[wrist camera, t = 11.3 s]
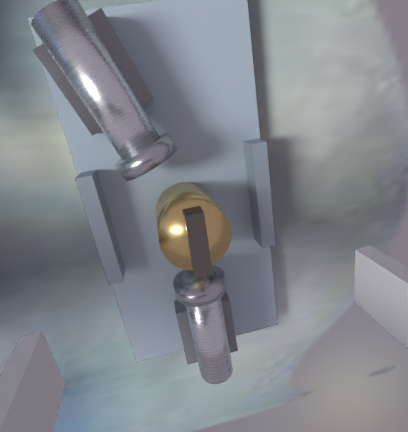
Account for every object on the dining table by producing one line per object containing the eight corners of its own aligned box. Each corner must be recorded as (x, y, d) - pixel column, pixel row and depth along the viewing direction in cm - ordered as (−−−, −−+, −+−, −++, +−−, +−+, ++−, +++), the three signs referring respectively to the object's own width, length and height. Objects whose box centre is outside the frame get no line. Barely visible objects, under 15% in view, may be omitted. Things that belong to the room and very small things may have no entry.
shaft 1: (123, 172, 25) (118, 190, 19) (37, 47, 21) (2, 27, 16) (177, 140, 24) (186, 149, 19) (100, 8, 21) (86, -25, 16)
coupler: (161, 242, 27) (167, 288, 20) (150, 187, 25) (152, 217, 18) (216, 231, 28) (240, 271, 21) (209, 177, 26) (233, 202, 19)
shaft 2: (191, 358, 30) (198, 395, 26) (170, 271, 27) (175, 299, 23) (232, 347, 31) (245, 382, 27) (217, 259, 27) (230, 285, 23)
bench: (136, 351, 32) (135, 380, 29) (35, 23, 22) (14, 7, 18) (272, 315, 34) (286, 338, 31) (240, -5, 23) (256, -24, 20)
